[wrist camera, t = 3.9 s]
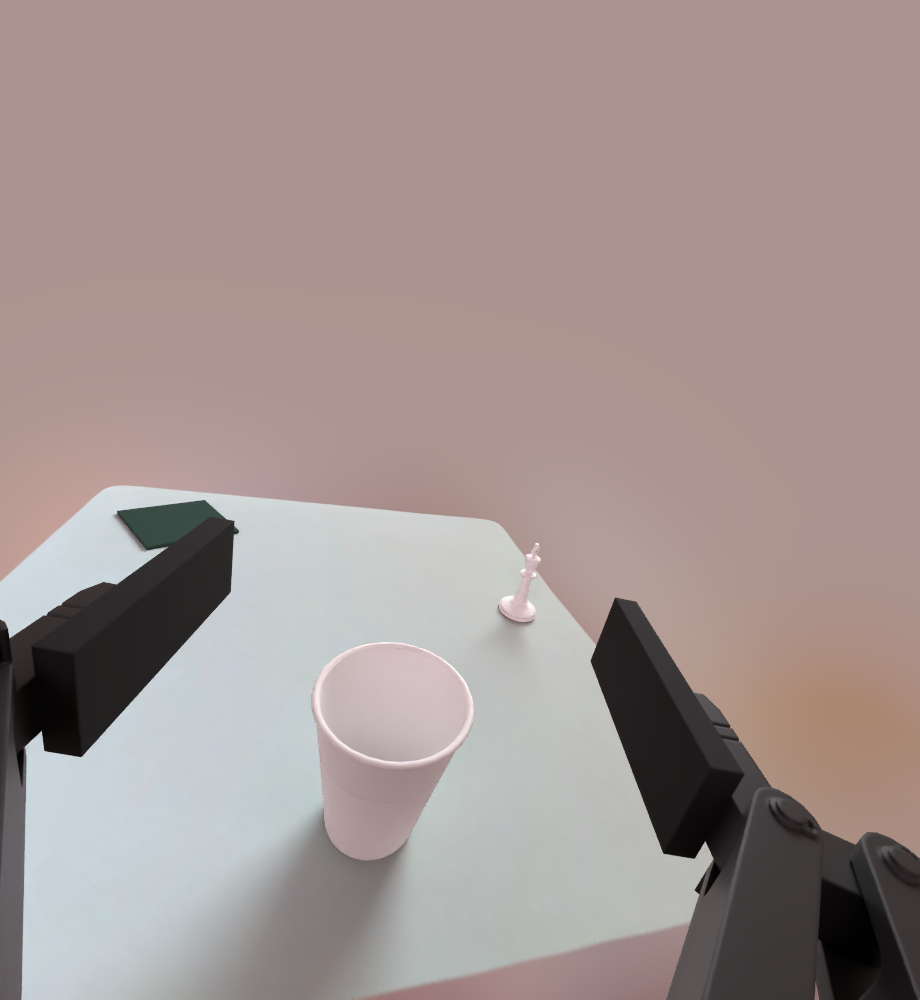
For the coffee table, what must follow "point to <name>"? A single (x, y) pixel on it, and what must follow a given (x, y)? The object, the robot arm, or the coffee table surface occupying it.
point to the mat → (167, 521)
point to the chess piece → (522, 592)
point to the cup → (385, 741)
